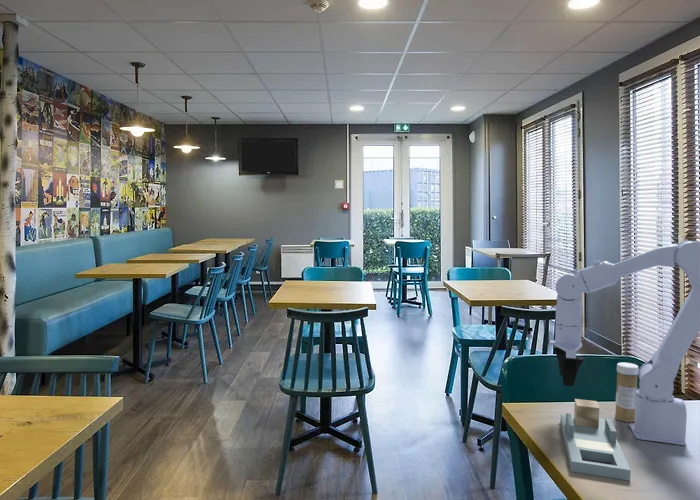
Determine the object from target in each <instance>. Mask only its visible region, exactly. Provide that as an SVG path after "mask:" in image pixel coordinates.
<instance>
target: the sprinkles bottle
mask: <svg viewBox="0 0 700 500" xmlns="http://www.w3.org/2000/svg"><path fill="white" fill-rule="evenodd" d="M639 369H640V367H639V365H637V364H636V363H631V362H625V361H624V362H618V363H617V364H616V373H617V374H616V389H615V390H616V392H615V411H614V412H615V414H614V418H615V419H616V420H618V421H621V422H624V423H634V422H635V401H636V390H637V389H638V377H639V375H638V372H639Z"/></svg>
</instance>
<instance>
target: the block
mask: <svg viewBox="0 0 700 500" xmlns="http://www.w3.org/2000/svg"><path fill="white" fill-rule="evenodd" d="M573 409H574V410H573V411H574V412H573V413H574V414H573V415H574V419H575V422H576V425H579V426H587V427H594V428H599V418H600V406H599V404H598V401H597V400H591V399H590V400H588V399H580V398H574V408H573Z"/></svg>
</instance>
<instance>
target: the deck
mask: <svg viewBox="0 0 700 500" xmlns="http://www.w3.org/2000/svg"><path fill="white" fill-rule="evenodd" d="M560 425H561V427H560V428H561V431H562V435H563V439H564V444H565V450H566V453H567V458H568V459H567V460H568V463H569V464H568V465H569V468H570V472H572V473H578V474H585V475H590V476H591V475H593V476H598V477H605V478H610V479H618V480H624V481H631V467H630V466H629V463H628V461H627V459H626V457H625V454H624V453H623V450H622V448H621V445H620V444H619V441H618V440H617V430H616V428H615V425H614V424H613V421H612V419H611V418H607V417H606V418H603V417H602V418H601V417H599V428H594V427H587V426H579V425H576V422H575V419H574V414H571V413H563V412H562V413H560Z"/></svg>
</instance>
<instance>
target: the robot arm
mask: <svg viewBox="0 0 700 500" xmlns="http://www.w3.org/2000/svg"><path fill="white" fill-rule="evenodd" d="M675 264H676V265H677V266H678V267H679V268H680V269H681V270H682V271H683V272H684V273H685V275H686V277H687V279H688V282H689V284H690V285H691V290H690V291H689V292H688V295H687V296H686V299H685V300H684V302H683V304H682V305H681V307H680V309H679V311H678V313H677V315H676V316H675V318H674V320H673V322H672V323H671V325H670V327H669V329H668V330H667V332H666V334H665V336H664V338H663V339H662V341H661V343H660V345H659V347H658V348H657V350H656V351H655V352H654V353H653V354H652V355H651V358H650V359H649V360H648V361H647V362H644V363H643V364H642V365H641V366H640V367H639V371H638V378H639V383H638V385H639V388H637V390H636V401H635V421H634V422H633V423H632V422H629V424H628V425H629V428H630V429H631V431H632V433H633V435H634V437H635V438H636V439H637V440H644V441H651V442H657V443H658V442H659V443H664V444H673V445H678V446H679V445H681V446H687V442H686V433H687V416H688V415H687V413H688V412H687V408H686V403H685V401H684V399H683V398H682V399H681V398H678V397H675V396H674V395H673V393H674V389H675V387H674V383H675V382H674V381H675V379H676V376H677V375H678V372H679V368H680V364H681V362H682V360H683V358H684V357H685V356H686V354H687V352H688V350H689V348H690V347H691V345H692V343H693V342H694V340H695V338H696V337H697V334H698V333H699V331H700V242H699V241H696V240H684V241H680V242H679V243H672V244H667V245H664V246H659V247H656V248H653V249H651V250H648V251H646V252H643V253H639V254H638V255H635V256H631V257H629V258H626V259H625V260H621V261H619V262H616V263H612V262H610V261H607V260H603V261H600V260H596V261H593V265H590V266H587V267H584V268H581V269H578V268H575V269H573V270H572V272H573V273H565V274H562V276H561V277H559V278H558V279H557V281H556V283H555V291H556V294H557V295H556V304H555V329H554V330H555V332H554V333H555V334H554V340H549V345H551V346H553V349H554V352H555V356H556V359H557V361H558V367H559V369H558V370H559V373H560V376H561V378H562V383H563V386H568V387H574V386H575V383H576V380H577V375H578V371H579V368H580V367H581V365H582V363H583V361H584V357H582V356H581V357H580V356H577V354H578V351H579V350H580V349H582V347H583V344H582V332H583V331H582V327H583V326H582V323H583V322H582V321H583V305H582V294H583V293H584V294H585V293H586V294H590V293H593V292H596V291H599V290H602V289H605V288H608V287H612V286H615V285H617V283H618V281H619V278H620V277H623V276H626V275H630V274H633V273H637V272H640V271H643V270H646V269H651V268H653V267H657V266H659V267H660V266H661V267H669V268H675Z"/></svg>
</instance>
